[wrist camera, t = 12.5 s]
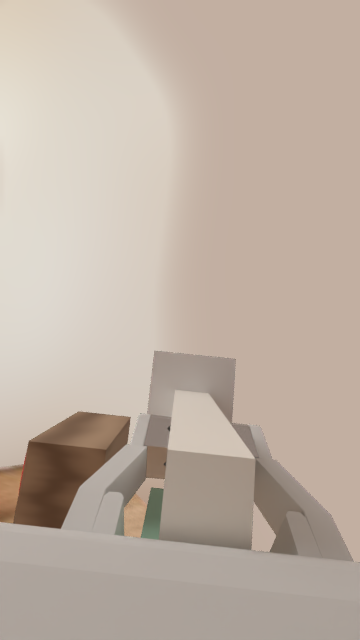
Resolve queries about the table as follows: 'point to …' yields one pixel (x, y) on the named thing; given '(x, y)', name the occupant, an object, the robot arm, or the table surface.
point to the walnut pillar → (66, 465)
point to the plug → (202, 452)
